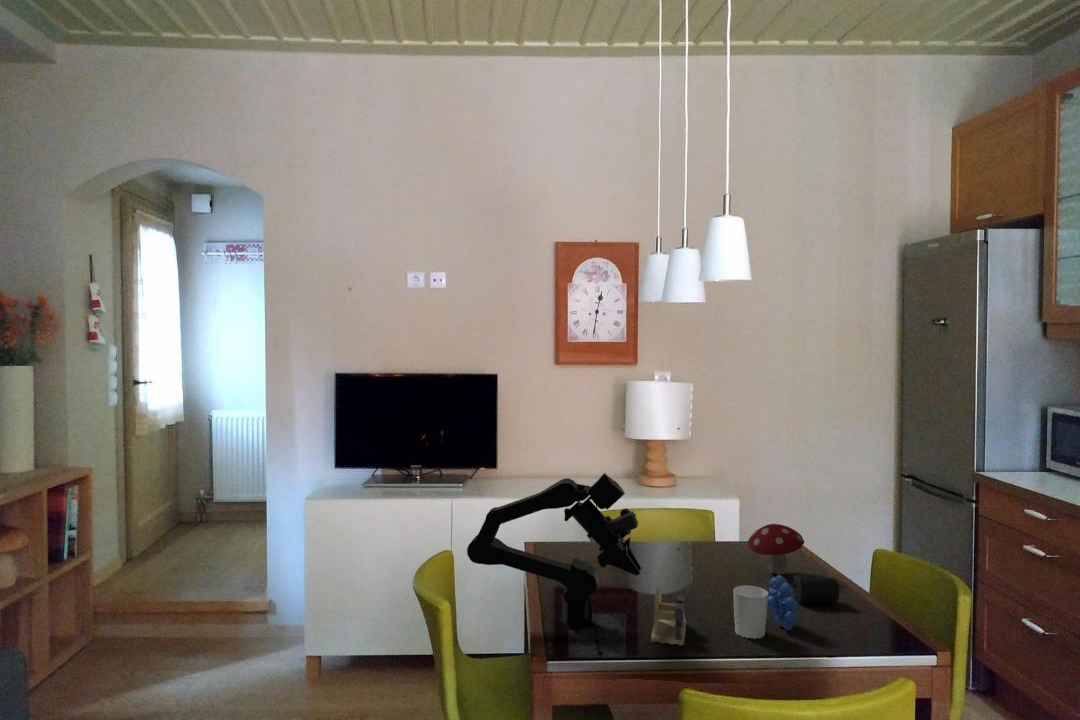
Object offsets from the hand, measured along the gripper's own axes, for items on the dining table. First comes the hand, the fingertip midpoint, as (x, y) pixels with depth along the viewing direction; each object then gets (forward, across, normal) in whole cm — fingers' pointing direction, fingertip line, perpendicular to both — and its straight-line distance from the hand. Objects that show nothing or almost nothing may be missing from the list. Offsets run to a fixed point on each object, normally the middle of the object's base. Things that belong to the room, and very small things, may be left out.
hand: (639, 572), depth 173 cm
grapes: (+33, +11, -13) cm, 37 cm away
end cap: (+40, +30, -21) cm, 55 cm away
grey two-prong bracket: (+16, 0, +3) cm, 17 cm away
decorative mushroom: (+34, +51, -15) cm, 63 cm away
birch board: (+15, 0, +4) cm, 15 cm away
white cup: (+28, +5, -8) cm, 30 cm away
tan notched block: (+13, 0, +4) cm, 14 cm away
